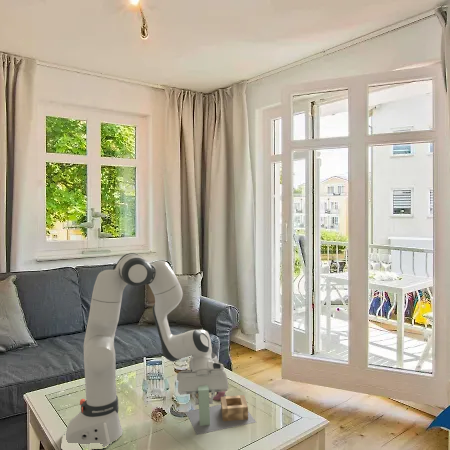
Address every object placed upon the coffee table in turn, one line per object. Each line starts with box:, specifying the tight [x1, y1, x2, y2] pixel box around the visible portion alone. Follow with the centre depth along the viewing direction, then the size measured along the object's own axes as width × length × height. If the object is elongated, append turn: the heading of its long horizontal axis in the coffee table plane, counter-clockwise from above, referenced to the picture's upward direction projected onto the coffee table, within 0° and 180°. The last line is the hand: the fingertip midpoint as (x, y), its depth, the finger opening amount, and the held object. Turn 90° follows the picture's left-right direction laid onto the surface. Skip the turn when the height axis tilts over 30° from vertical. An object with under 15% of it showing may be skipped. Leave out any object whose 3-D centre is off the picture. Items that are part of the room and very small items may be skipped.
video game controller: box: [213, 391, 227, 401], centre depth 183 cm, size 10×5×7 cm, turn 169°
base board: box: [186, 404, 257, 436], centre depth 164 cm, size 24×18×2 cm
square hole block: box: [220, 394, 249, 421], centre depth 166 cm, size 10×10×5 cm
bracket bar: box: [197, 385, 210, 426], centre depth 160 cm, size 4×4×14 cm
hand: (204, 403), depth 159 cm, fingers closed on bracket bar, 4 cm apart
